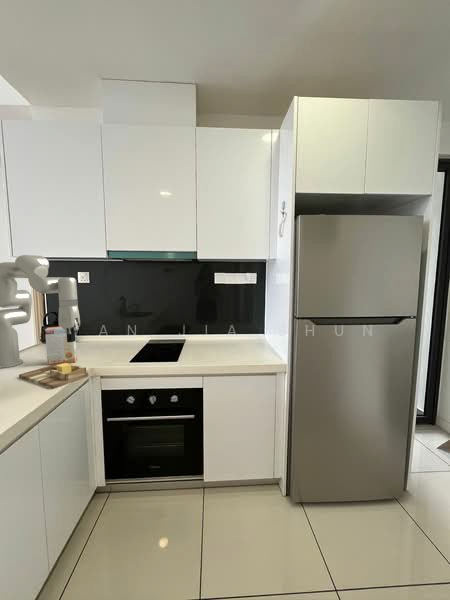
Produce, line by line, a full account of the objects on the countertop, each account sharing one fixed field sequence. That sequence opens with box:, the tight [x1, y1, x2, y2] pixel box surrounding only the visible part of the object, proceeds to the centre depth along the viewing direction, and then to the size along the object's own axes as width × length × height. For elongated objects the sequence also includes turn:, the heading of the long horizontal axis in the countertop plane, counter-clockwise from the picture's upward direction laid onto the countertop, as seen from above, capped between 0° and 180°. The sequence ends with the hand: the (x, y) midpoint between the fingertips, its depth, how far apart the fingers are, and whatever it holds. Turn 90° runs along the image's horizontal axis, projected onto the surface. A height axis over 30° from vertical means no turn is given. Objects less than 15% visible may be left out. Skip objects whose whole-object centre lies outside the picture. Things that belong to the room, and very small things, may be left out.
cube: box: [55, 363, 72, 373], centre depth 133 cm, size 4×4×4 cm
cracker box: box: [44, 326, 78, 366], centre depth 154 cm, size 14×6×21 cm, turn 108°
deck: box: [18, 364, 89, 390], centre depth 133 cm, size 29×17×2 cm, turn 62°
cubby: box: [49, 363, 87, 381], centre depth 131 cm, size 13×10×3 cm
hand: (71, 341), depth 128 cm, fingers closed
